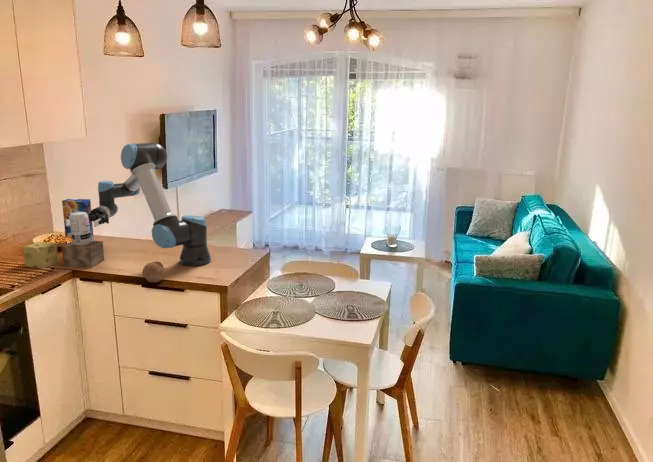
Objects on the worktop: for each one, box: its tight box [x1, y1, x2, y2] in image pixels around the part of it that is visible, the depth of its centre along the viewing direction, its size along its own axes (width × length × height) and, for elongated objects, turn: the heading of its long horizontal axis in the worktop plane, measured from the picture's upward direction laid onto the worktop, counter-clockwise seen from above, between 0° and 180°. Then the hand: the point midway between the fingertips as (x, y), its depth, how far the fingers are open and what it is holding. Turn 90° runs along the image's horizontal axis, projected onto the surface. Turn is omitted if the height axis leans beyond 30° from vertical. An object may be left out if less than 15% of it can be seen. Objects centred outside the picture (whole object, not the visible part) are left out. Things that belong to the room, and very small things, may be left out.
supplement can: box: [69, 212, 92, 246], centre depth 247 cm, size 8×8×15 cm
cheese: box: [22, 241, 58, 269], centre depth 247 cm, size 10×11×10 cm
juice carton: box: [61, 197, 95, 241], centre depth 284 cm, size 12×8×24 cm, turn 81°
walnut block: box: [61, 240, 105, 269], centre depth 250 cm, size 14×12×10 cm
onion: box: [142, 261, 166, 284], centre depth 229 cm, size 10×9×10 cm
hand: (80, 223), depth 247 cm, fingers open, 13 cm apart
